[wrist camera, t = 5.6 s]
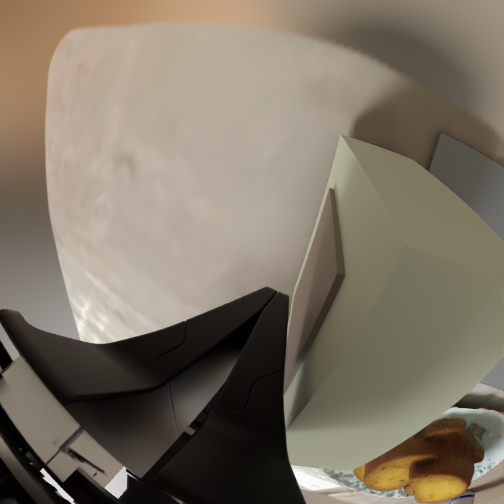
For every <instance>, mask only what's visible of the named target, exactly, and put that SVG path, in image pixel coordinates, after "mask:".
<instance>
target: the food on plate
mask: <svg viewBox="0 0 504 504" xmlns="http://www.w3.org/2000/svg"><path fill="white" fill-rule="evenodd" d="M473 423H476V424H477V425H478V426H480V427H484V428H485V429H486V431H485V433H484V434H483V436H482V437H483V439H482V440H481V441H480V440H479V438H478V437H477V436H475V435H474V434H473V433H472V430H471V428H470V426H471V424H473ZM503 460H504V413H503V411H502V412H500V413H499V412H498V411H495V410H487V409H486V408H479V409H467V408H458V407H452V408H449V409H448V410H447V411H446V412H444V413H443V414H442V415H441V416H439V417H438V418H437V419H435V420H434V421H433V422H431V423H430V424H429V425H427V426H426V427H424V428H423V429H422V430H420V431H419V432H417V433H416V434H414V435H413V436H411V437H410V438H408V439H407V440H405V441H404V442H402V443H401V444H399V445H397V446H396V447H394V448H392V449H391V450H389V451H387V452H386V453H384V454H382V455H380V456H379V457H377V458H375V459H373V460H371V461H370V462H368V463H366V464H364V465H362V466H360V467H358V468H356V469H354V470H336V469H323V468H318V469H319V471H320V472H321V473H322V474H323V475H324V476H325V477H327V478H328V479H329V480H331V481H332V482H334V483H336V484H339V485H341V486H343V487H345V488H347V489H349V490H353V491H357V492H361V493H363V494H369V495H375V496H381V497H384V498H386V497H393V498H400V499H403V498H411V497H415V499H416V501H417V502H418V503H431V502H439V501H443V500H447V499H452V498H455V497H457V496H459V495H460V494H462V493H463V492H465V491H466V490H467V488H468V487H469V486H470V484H471V481H473V480H475V479H478V478H479V477H481V476H483V475H485V474H486V473H488V472H489V471H490V470H492V469H493V468H495V467H497V465H498V464H500V463H501V462H502V461H503Z"/></svg>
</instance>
